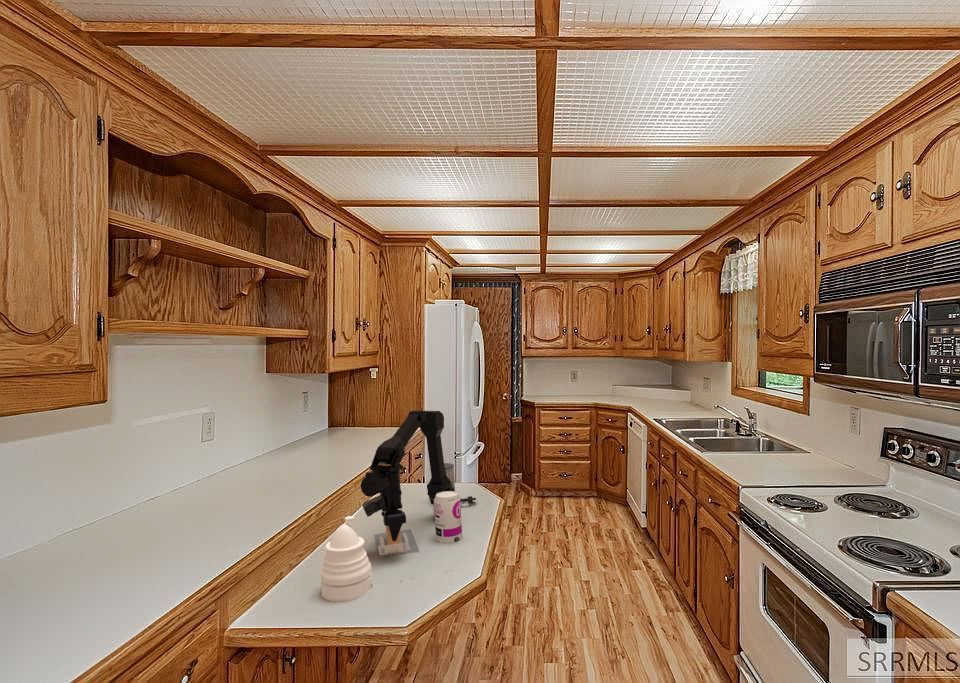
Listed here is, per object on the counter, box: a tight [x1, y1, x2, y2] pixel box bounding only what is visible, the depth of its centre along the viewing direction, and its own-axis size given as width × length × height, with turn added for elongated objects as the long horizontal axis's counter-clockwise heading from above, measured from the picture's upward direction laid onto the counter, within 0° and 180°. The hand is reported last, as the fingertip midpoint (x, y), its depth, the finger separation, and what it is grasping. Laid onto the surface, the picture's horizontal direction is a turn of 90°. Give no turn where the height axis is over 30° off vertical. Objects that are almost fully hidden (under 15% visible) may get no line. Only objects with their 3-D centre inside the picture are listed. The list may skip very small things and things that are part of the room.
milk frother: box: [444, 462, 477, 504], centre depth 201 cm, size 14×16×15 cm
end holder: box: [378, 533, 411, 557], centre depth 156 cm, size 9×7×4 cm
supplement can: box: [433, 491, 463, 544], centre depth 163 cm, size 8×8×15 cm
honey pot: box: [320, 515, 373, 602], centre depth 135 cm, size 13×13×18 cm
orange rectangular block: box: [385, 526, 401, 545], centre depth 156 cm, size 4×3×6 cm
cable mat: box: [373, 528, 421, 559], centre depth 161 cm, size 12×20×1 cm, turn 15°
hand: (393, 538), depth 156 cm, fingers closed on orange rectangular block, 3 cm apart
